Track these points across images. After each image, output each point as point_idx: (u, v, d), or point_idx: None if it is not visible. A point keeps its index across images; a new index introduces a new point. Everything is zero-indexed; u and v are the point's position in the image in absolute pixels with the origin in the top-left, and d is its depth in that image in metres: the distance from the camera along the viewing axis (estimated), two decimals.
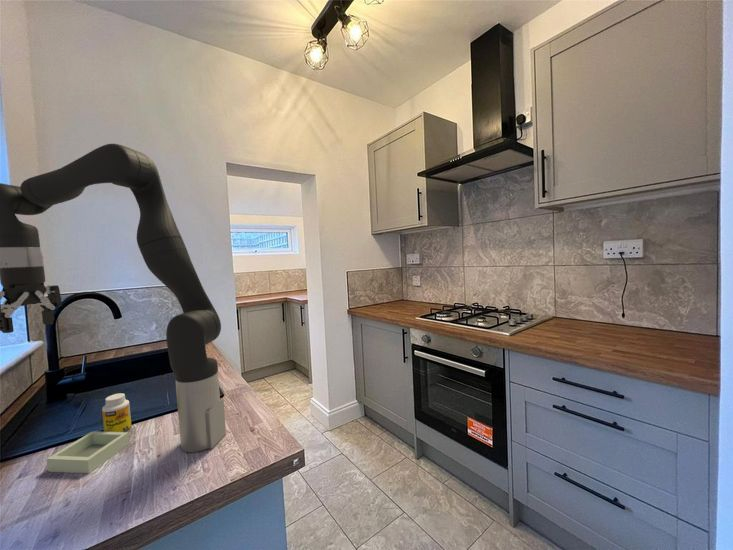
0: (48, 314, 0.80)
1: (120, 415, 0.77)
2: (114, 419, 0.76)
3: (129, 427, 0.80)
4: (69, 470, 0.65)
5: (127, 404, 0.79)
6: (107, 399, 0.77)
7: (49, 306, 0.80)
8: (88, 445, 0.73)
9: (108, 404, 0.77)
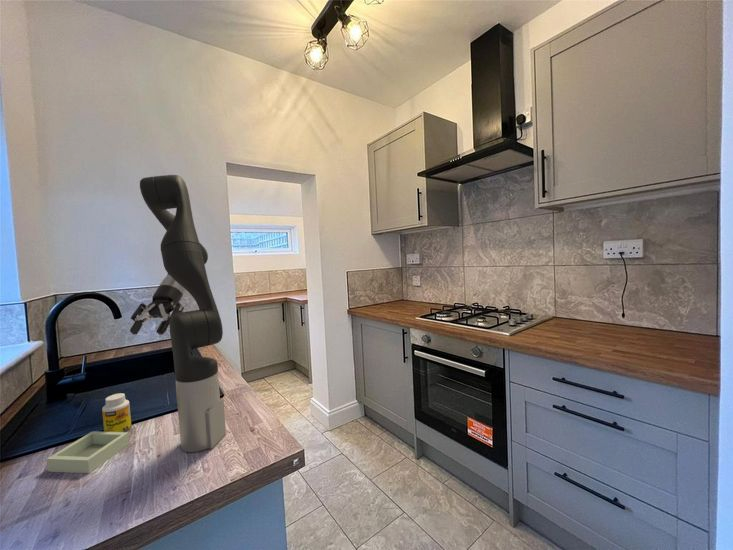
0: None
1: (120, 415, 0.77)
2: (114, 419, 0.76)
3: (129, 427, 0.80)
4: (69, 470, 0.65)
5: (127, 404, 0.79)
6: (107, 399, 0.77)
7: (164, 317, 0.92)
8: (88, 445, 0.73)
9: (108, 404, 0.77)
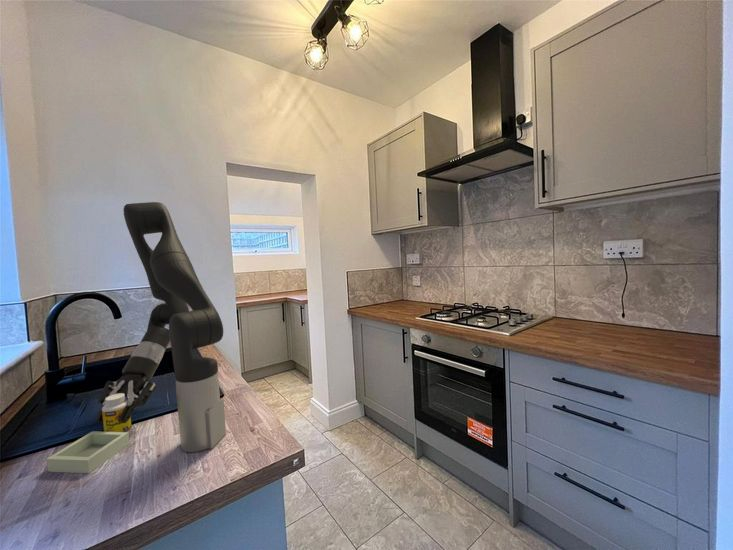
0: None
1: None
2: (114, 419, 0.76)
3: (129, 427, 0.80)
4: (69, 470, 0.65)
5: None
6: (107, 399, 0.77)
7: (128, 401, 0.79)
8: (88, 445, 0.73)
9: (108, 404, 0.77)
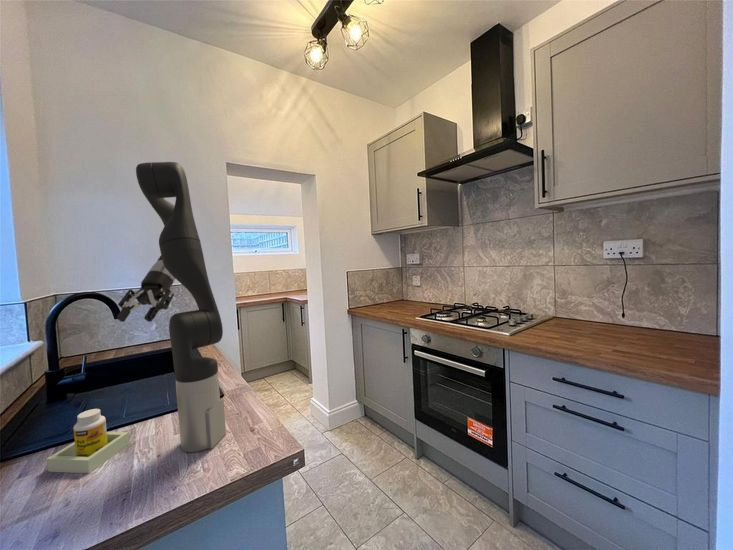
0: None
1: (93, 435, 0.68)
2: (85, 439, 0.67)
3: None
4: (69, 470, 0.65)
5: (102, 422, 0.70)
6: (79, 416, 0.68)
7: (152, 303, 0.88)
8: None
9: (79, 422, 0.68)
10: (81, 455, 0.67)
